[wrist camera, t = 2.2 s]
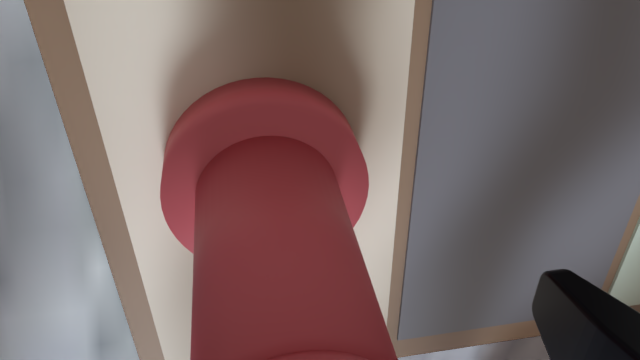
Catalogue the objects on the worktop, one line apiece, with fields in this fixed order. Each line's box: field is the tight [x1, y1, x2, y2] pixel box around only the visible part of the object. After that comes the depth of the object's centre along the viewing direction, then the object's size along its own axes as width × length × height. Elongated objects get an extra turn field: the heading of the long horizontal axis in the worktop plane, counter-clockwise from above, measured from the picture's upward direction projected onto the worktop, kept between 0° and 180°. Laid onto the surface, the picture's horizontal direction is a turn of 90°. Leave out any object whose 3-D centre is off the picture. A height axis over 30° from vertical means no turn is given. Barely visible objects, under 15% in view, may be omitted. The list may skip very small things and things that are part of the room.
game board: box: [24, 0, 640, 360], centre depth 14 cm, size 22×16×1 cm
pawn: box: [160, 77, 398, 360], centre depth 9 cm, size 4×4×10 cm
